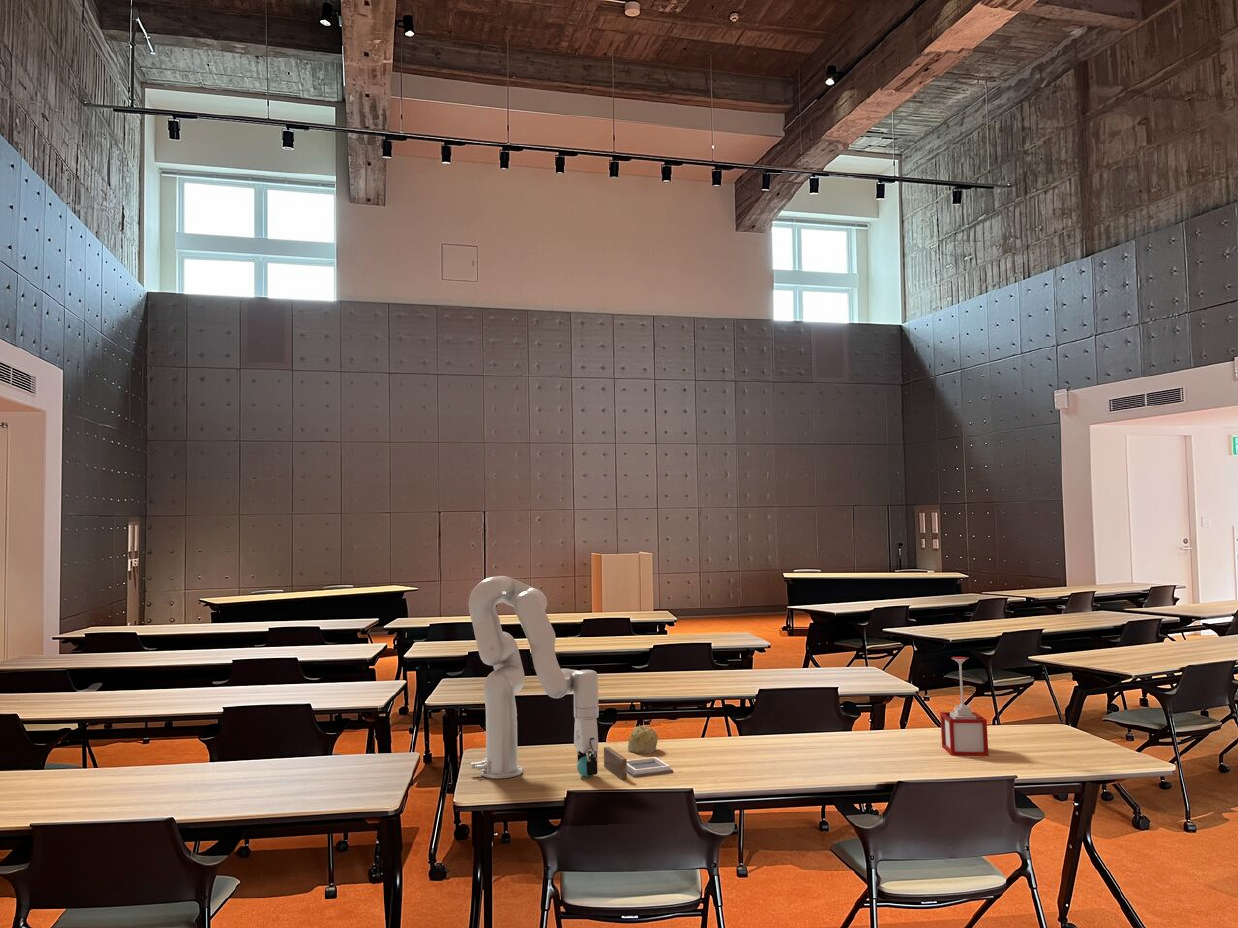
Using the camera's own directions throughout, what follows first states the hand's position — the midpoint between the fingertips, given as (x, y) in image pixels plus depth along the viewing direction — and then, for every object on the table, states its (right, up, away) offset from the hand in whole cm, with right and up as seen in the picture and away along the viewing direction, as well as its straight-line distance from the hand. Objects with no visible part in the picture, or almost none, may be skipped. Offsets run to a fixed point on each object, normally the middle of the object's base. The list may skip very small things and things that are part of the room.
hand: (587, 770), depth 255 cm
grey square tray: (+18, -2, +6) cm, 19 cm away
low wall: (+8, -2, +3) cm, 9 cm away
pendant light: (+122, -1, +21) cm, 124 cm away
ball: (0, +1, 0) cm, 1 cm away
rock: (+18, -4, +30) cm, 35 cm away
